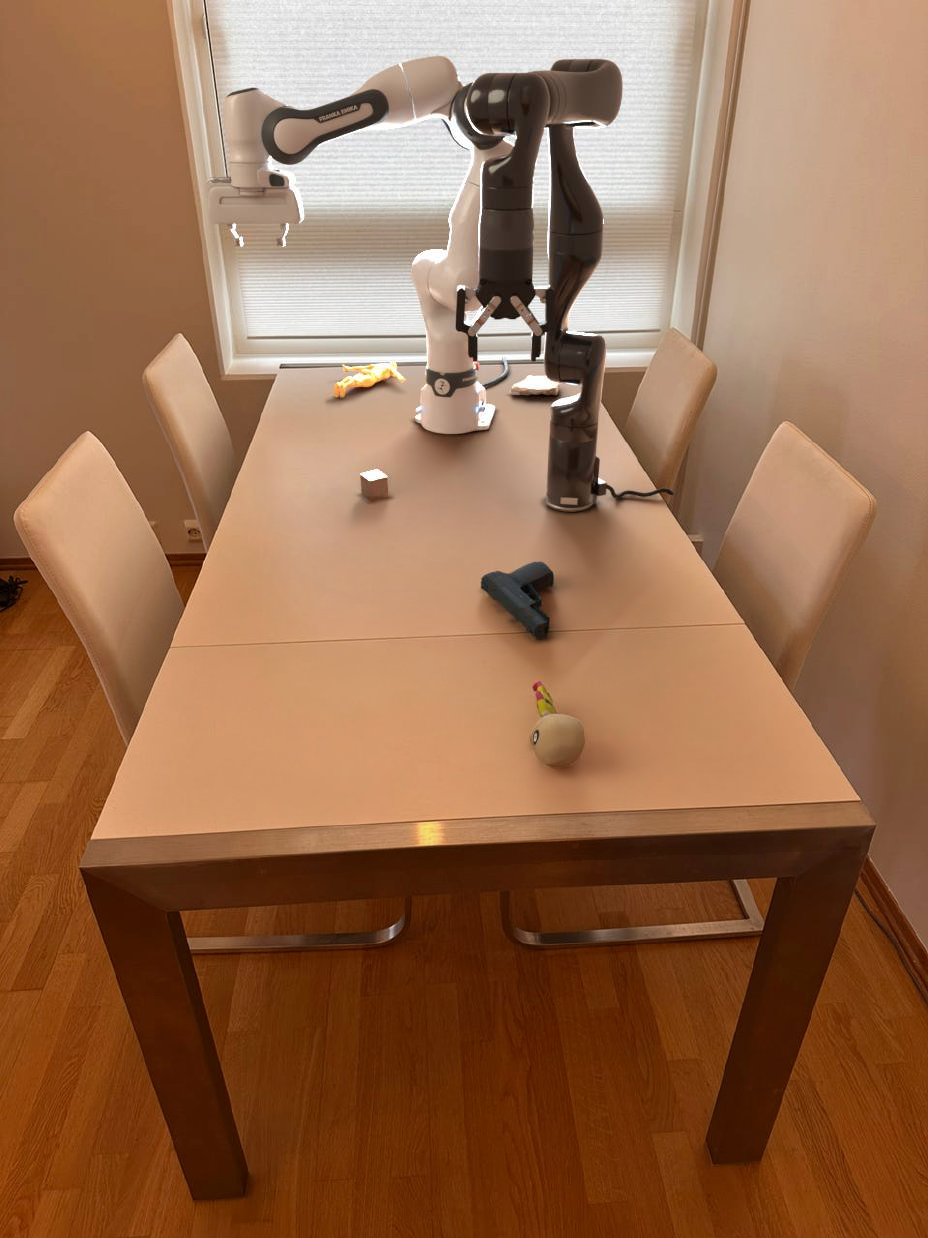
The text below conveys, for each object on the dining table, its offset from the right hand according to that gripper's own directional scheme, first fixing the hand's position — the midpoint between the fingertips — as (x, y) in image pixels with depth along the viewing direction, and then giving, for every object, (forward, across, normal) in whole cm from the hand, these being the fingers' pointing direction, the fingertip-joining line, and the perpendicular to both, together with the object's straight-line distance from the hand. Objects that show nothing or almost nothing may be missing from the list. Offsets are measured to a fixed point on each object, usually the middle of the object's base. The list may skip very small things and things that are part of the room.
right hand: (504, 360), depth 131 cm
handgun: (+38, +5, -8) cm, 39 cm away
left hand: (-3, -52, +79) cm, 94 cm away
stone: (+38, +11, +103) cm, 110 cm away
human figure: (+38, -34, +108) cm, 119 cm away
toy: (+37, +6, -42) cm, 56 cm away
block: (+38, -25, +35) cm, 57 cm away
